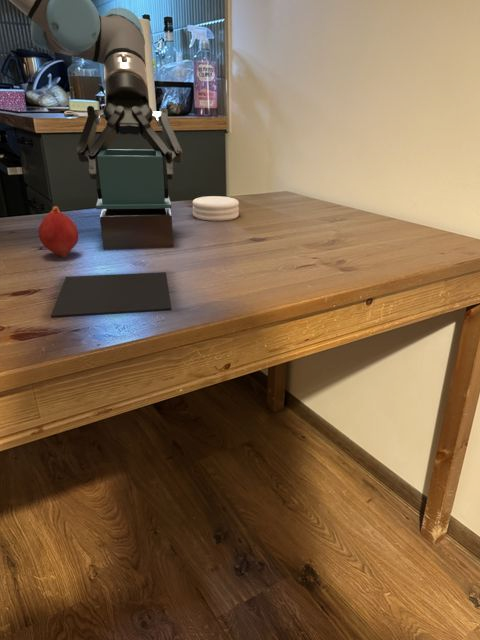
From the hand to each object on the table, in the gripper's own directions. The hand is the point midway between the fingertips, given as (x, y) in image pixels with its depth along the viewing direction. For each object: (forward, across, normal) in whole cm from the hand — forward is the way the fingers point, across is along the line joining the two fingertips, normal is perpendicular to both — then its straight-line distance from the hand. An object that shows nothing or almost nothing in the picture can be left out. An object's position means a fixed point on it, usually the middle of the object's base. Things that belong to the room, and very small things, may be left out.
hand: (133, 193), depth 83 cm
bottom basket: (+4, 0, +8) cm, 9 cm away
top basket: (-1, 0, +3) cm, 4 cm away
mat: (+23, -3, -11) cm, 25 cm away
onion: (+10, -12, +2) cm, 16 cm away
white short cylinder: (-8, +17, +21) cm, 28 cm away
